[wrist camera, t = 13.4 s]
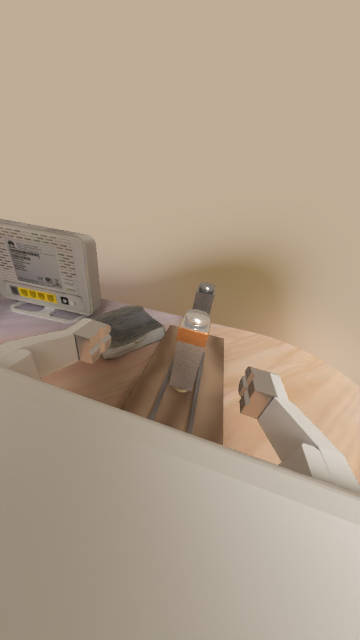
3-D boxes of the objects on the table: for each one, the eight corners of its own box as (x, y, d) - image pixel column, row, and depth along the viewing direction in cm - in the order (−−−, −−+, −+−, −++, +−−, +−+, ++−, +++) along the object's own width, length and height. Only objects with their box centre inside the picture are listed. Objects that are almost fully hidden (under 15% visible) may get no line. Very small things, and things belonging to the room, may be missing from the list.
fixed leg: (186, 340, 39) (197, 285, 32) (188, 332, 42) (199, 280, 35) (201, 344, 38) (215, 289, 32) (203, 335, 41) (216, 284, 35)
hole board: (63, 521, 15) (57, 513, 14) (169, 331, 45) (170, 323, 43) (214, 590, 14) (223, 589, 12) (221, 345, 43) (224, 336, 41)
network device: (106, 312, 48) (100, 235, 38) (87, 328, 40) (74, 237, 31) (24, 295, 50) (-2, 217, 40) (-9, 307, 42) (-51, 214, 32)
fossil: (140, 313, 51) (140, 302, 49) (169, 342, 41) (171, 329, 39) (83, 325, 42) (81, 312, 40) (104, 365, 32) (102, 350, 30)
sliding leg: (167, 388, 26) (180, 317, 20) (174, 371, 30) (186, 305, 23) (191, 395, 26) (211, 325, 20) (194, 377, 29) (213, 311, 23)
